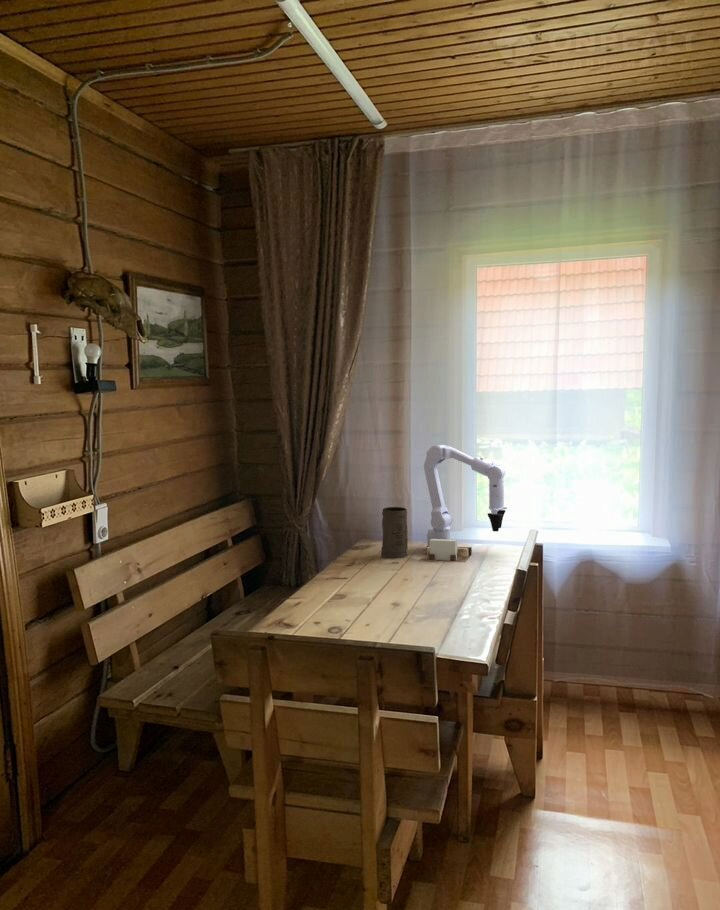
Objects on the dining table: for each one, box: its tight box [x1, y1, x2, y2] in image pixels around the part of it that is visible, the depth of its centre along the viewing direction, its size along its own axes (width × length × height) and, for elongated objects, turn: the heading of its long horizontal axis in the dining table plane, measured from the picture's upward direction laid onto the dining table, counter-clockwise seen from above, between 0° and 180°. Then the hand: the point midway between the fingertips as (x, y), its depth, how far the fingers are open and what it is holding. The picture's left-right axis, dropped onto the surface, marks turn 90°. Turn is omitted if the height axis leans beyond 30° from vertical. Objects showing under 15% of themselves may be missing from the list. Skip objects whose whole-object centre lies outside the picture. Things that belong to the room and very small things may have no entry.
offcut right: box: [457, 546, 469, 557], centre depth 274 cm, size 6×3×3 cm, turn 71°
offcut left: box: [426, 546, 430, 555], centre depth 278 cm, size 6×3×3 cm, turn 71°
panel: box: [430, 539, 458, 560], centre depth 269 cm, size 10×3×8 cm, turn 71°
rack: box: [419, 545, 473, 563], centre depth 272 cm, size 18×14×4 cm
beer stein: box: [380, 506, 409, 560], centre depth 279 cm, size 15×11×20 cm
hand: (496, 529), depth 278 cm, fingers open, 7 cm apart
